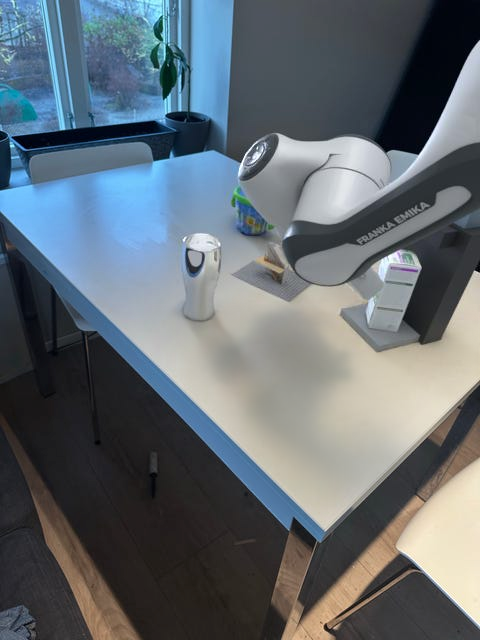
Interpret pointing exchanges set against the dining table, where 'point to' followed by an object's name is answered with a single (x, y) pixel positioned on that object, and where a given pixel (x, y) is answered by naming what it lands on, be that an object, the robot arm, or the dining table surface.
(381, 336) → the coffee maker
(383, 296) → the syrup box
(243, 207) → the snack cup
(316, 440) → the dining table surface
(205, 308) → the beer glass
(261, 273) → the architectural model
